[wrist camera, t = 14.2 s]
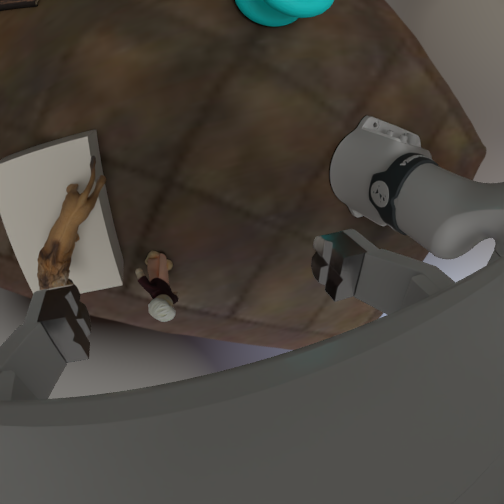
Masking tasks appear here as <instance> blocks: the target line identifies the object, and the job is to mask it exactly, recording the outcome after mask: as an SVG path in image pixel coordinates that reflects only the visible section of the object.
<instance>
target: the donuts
mask: <svg viewBox="0 0 504 504" xmlns="http://www.w3.org/2000/svg"><path fill="white" fill-rule="evenodd" d="M333 1H334V0H235V2H236V4H237V6H238V8H239V9H240V11H241V12H242V13H243V14H244V15H245V16H246V17H248V18H249V19H250V20H252V21H254V22H256V23H258V24H261V25H265V26H272V27H278V26H284V25H288V24H290V23H292V22H294V21H296V20H297V19H298V18H308V17H314V16H317V15H319V14H321V13H323V12H325V11H326V10H327V9H328V8H329V7H330V6H331V5H332V3H333Z"/></svg>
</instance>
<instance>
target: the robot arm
mask: <svg viewBox="0 0 504 504" xmlns="http://www.w3.org/2000/svg"><path fill="white" fill-rule="evenodd" d="M373 124H374V126H373ZM330 182H331V186H332V189H333V191H334V193H335V195H336V196H337V197H338V199H339V200H341V201H342V202H343V203H345V204H346V205H347V206H348V208H349V210H350V212H351V214H352V215H353V216H355V217H357V218H359V217H362V216H365V217H366V218H368V219H370V220H372V221H373V222H375V223H377V224H379V225H380V226H385V225H389V226H390V227H391V228H392V229H393V230H395V231H397V232H399V233H401V234H403V235H408V236H409V237H411V238H412V239H413V240H415V241H416V242H417V243H419V244H420V245H421V246H423V247H424V248H425V249H427V250H428V251H429V252H431V253H432V254H433V255H434V256H436V257H438V258H442V259H454V258H457V257H459V256H461V255H463V254H465V253H466V252H468V251H469V250H471V249H472V248H473V247H474V246H475V245H477V244H478V243H479V242H481V241H483V240H484V239H488V238H493V239H494V240H495V242H496V245H495V248H494V249H495V250H494V252H493V254H492V256H491V258H490V260H489V262H488V264H487V266H485V267H483V268H482V269H480V270H478V271H476V272H475V273H473V274H471V275H469V276H467V277H466V278H464V279H462V280H460V281H458V282H456V283H455V282H454V281H453V280H452V279H451V278H449V277H448V276H447V275H446V274H445V273H443V272H442V271H441V270H440V269H439V268H437V267H436V266H433V265H430V264H427V263H424V262H421V261H418V260H415V259H412V258H409V257H406V256H403V255H400V254H397V253H394V252H391V251H388V250H385V249H378V248H377V247H376V246H374V245H373V244H372V243H371V242H370V241H368V240H367V239H366V238H365V237H363V236H362V235H361V234H360V233H358V232H357V231H356V230H354V229H347V230H343V231H340V232H335V233H331V234H326V235H321V236H317V237H316V238H315V240H314V245H313V248H314V249H315V250H316V253H315V254H314V256H313V257H312V263H311V267H312V272H313V275H314V277H315V279H316V280H317V281H318V282H319V283H321V284H324V285H325V291H326V292H327V293H328V294H329V296H330V297H331V298H332V299H333V300H334V301H339V300H342V299H346V298H349V297H352V296H354V297H355V298H357V299H359V300H361V301H363V302H365V303H367V304H369V305H370V306H372V307H374V308H376V309H378V310H380V311H382V312H384V313H386V314H387V316H384V317H382V318H379V319H377V320H375V321H372V322H370V323H367V324H365V325H362V326H360V327H357V328H355V329H352V330H350V331H347V332H344V333H342V334H339V335H336V336H334V337H331V338H328V339H325V340H323V341H320V342H317V343H314V344H311V345H308V346H305V347H302V348H299V349H296V350H293V351H290V352H287V353H284V354H280V355H278V356H274V357H271V358H267V359H264V360H261V361H257V362H254V363H250V364H246V365H243V366H239V367H235V368H232V369H228V370H224V371H220V372H216V373H212V374H208V375H204V376H199V377H195V378H190V379H186V380H181V381H177V382H172V383H166V384H161V385H157V386H151V387H146V388H139V389H133V390H127V391H120V392H113V393H106V394H98V395H90V396H80V397H70V398H58V399H48V397H49V395H50V394H51V392H52V390H53V388H54V386H55V384H56V383H57V381H58V379H59V377H60V375H61V373H62V372H63V370H64V368H65V367H66V365H67V364H66V363H68V362H75V361H81V360H86V359H89V350H90V349H89V348H90V342H89V341H88V339H87V337H88V335H89V334H90V333H91V322H90V316H89V313H88V310H87V308H86V306H85V304H83V303H82V302H80V295H81V294H80V292H79V290H78V288H77V286H76V285H74V284H71V285H66V286H60V287H54V288H49V289H43V290H39V291H36V292H34V294H33V297H32V300H31V303H30V305H29V308H28V312H27V315H26V318H25V321H24V324H23V325H20V326H19V327H18V328H17V329H16V330H15V331H14V332H13V333H12V334H11V336H10V337H9V338H8V339H7V340H6V341H5V342H4V343H3V344H2V346H1V347H0V504H504V182H502V183H481V182H476V181H473V180H470V179H467V178H464V177H462V176H459V175H457V174H454V173H452V172H450V171H448V170H445V169H443V168H441V167H439V166H438V164H437V163H435V162H434V161H433V160H432V157H431V154H430V152H429V151H428V150H426V149H423V148H421V143H420V139H419V136H418V135H416V134H414V133H412V132H410V131H407V130H405V129H402V128H400V127H398V126H395V125H393V124H390V123H388V122H385V121H382V120H380V119H377V118H374V117H372V116H365V117H364V118H363V119H362V120H361V122H360V124H359V125H358V127H357V128H356V129H355V130H354V131H353V132H351V133H350V134H349V135H348V136H346V137H345V138H344V139H343V140H342V142H341V143H340V144H339V146H338V147H337V149H336V151H335V153H334V156H333V158H332V162H331V167H330Z"/></svg>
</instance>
